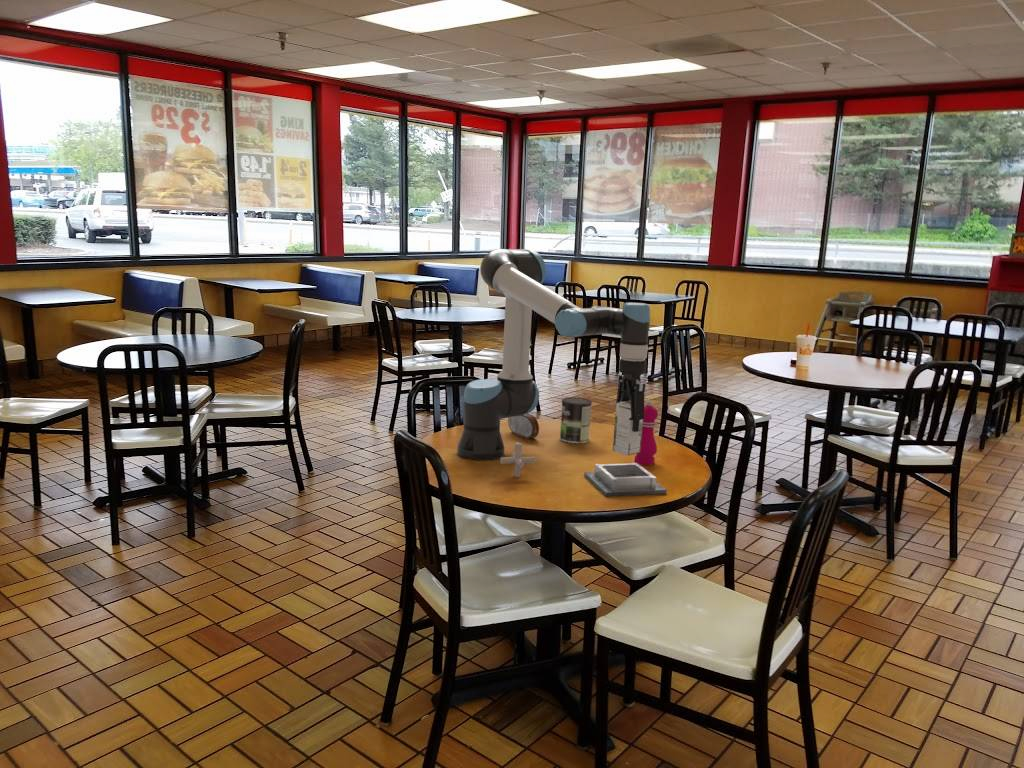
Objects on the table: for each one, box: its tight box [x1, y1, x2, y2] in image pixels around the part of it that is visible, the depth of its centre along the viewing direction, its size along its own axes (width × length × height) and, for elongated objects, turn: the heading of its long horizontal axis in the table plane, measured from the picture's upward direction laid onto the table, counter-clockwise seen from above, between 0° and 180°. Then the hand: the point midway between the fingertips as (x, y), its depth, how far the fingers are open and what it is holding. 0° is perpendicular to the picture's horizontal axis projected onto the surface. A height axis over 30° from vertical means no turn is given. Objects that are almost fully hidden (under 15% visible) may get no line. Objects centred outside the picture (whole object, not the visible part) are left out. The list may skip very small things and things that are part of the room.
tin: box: [507, 413, 540, 439], centre depth 264 cm, size 15×3×8 cm, turn 37°
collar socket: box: [583, 462, 668, 498], centre depth 216 cm, size 18×18×4 cm
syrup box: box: [612, 401, 643, 456], centre depth 213 cm, size 6×6×14 cm
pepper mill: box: [634, 400, 659, 466], centre depth 237 cm, size 7×7×20 cm
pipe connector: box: [499, 442, 536, 478], centre depth 219 cm, size 10×10×10 cm
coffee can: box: [559, 396, 593, 444], centre depth 261 cm, size 10×10×14 cm
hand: (627, 438), depth 214 cm, fingers closed on syrup box, 7 cm apart
